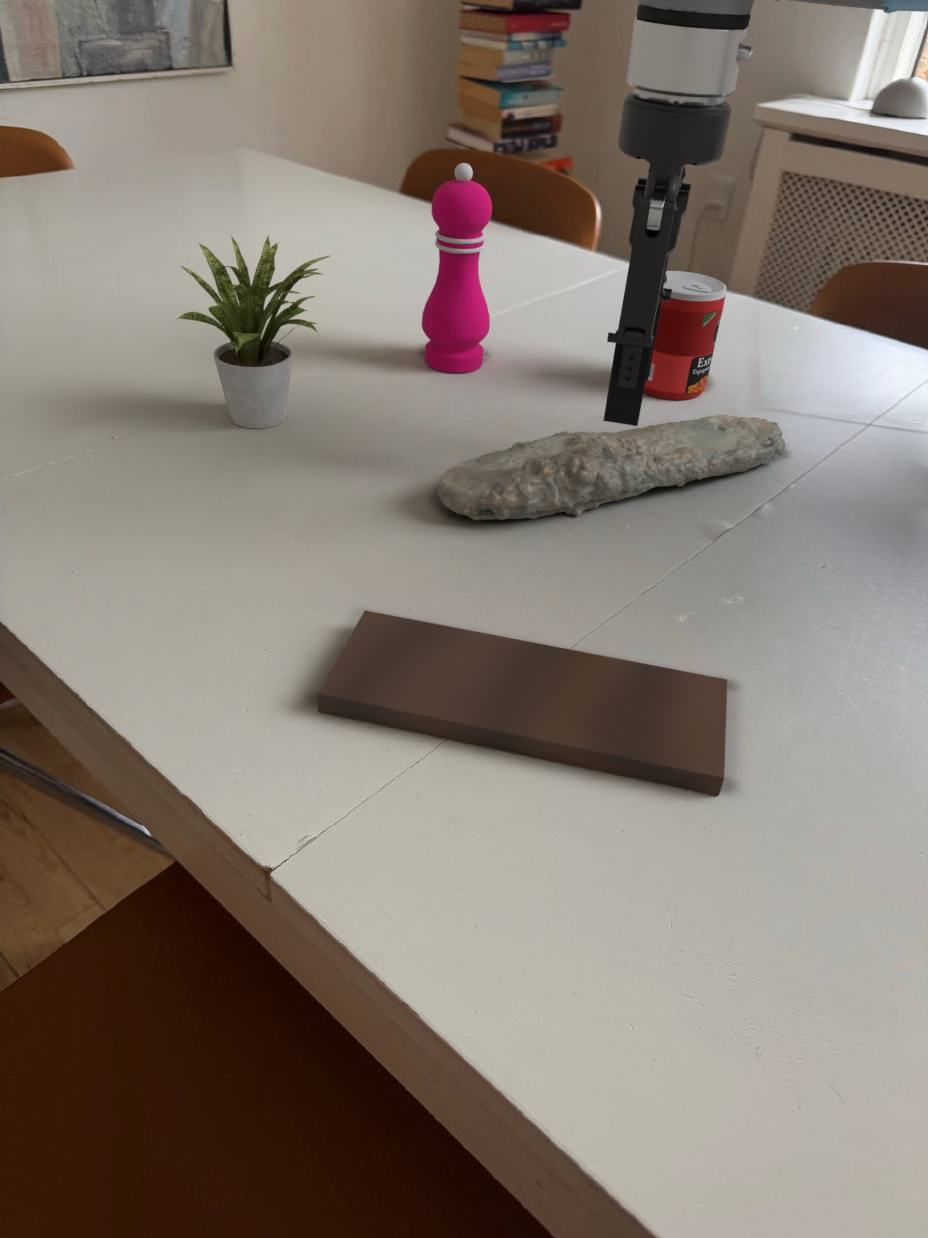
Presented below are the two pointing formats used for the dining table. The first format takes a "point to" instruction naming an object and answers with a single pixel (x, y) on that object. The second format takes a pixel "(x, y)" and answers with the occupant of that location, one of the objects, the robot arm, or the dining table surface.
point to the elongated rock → (604, 466)
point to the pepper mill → (458, 276)
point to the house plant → (253, 336)
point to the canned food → (685, 336)
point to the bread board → (533, 700)
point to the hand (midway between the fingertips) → (627, 397)
